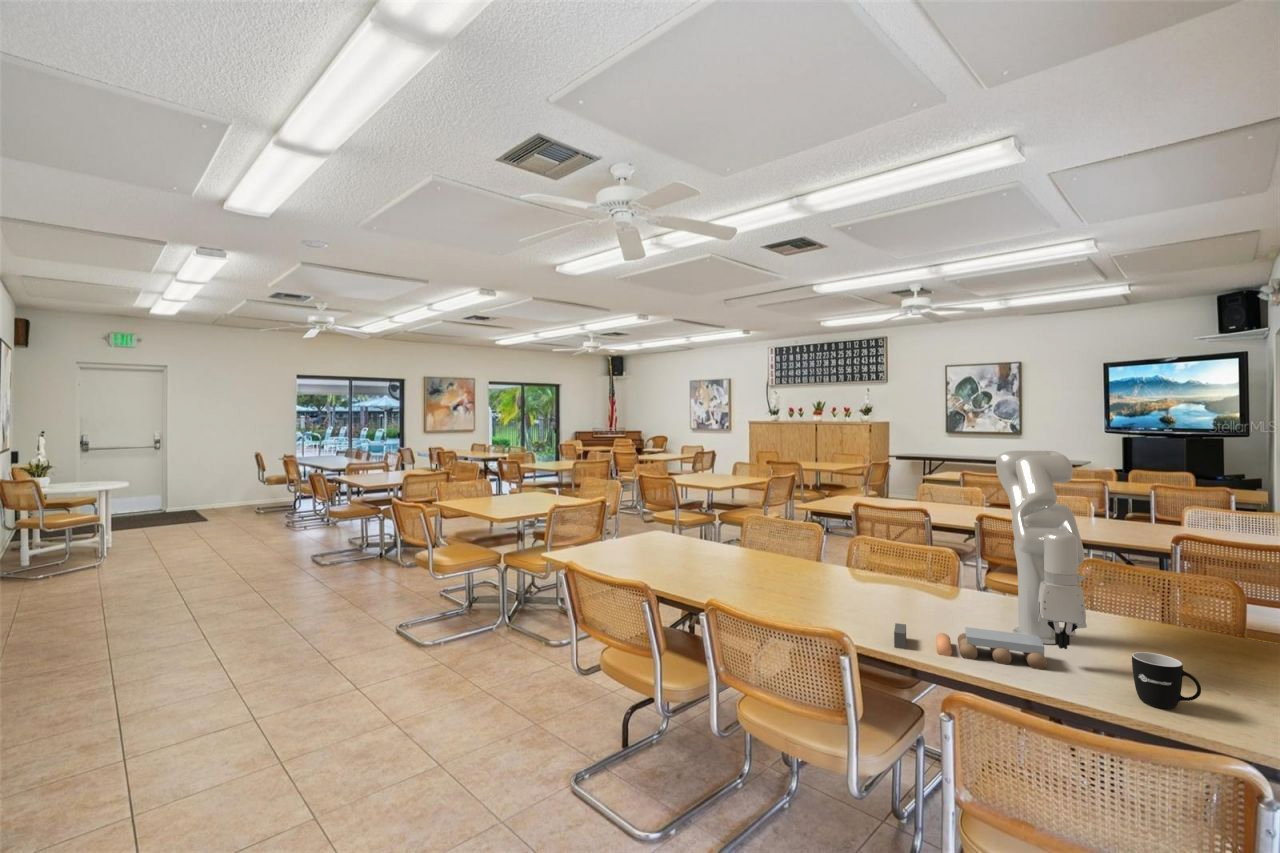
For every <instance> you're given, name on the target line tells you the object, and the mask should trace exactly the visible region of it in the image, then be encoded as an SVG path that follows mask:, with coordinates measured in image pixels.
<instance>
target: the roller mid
mask: <svg viewBox="0 0 1280 853" xmlns="http://www.w3.org/2000/svg"><path fill="white" fill-rule="evenodd" d="M989 649H990V652H991V653H990V654H991V655H992V659H993V660H994V662H995V663H997V664H999V665H1005V666H1006V665H1008V664H1010V663H1011V661H1012V655H1011V652H1010V650H1006V649H1004V648H989Z"/></svg>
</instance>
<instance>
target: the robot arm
mask: <svg viewBox="0 0 1280 853" xmlns="http://www.w3.org/2000/svg"><path fill="white" fill-rule="evenodd" d="M995 469H996V470H995V471H996V474H997V477H998V480H999V482H1000V484H1001V486H1002V487H1003V490H1004V491H1005V492H1006V495H1007V496H1008V500H1009V501H1008V502H1009V507H1010V511H1011V514H1012V517H1011V528H1012V533H1013V538H1014V540H1013V551H1014V555H1015V560H1016V569H1017V593H1018V594H1017V598H1018V599H1017V600H1018V603H1017V604H1018V606H1017V608H1018V612H1017V613H1018V626H1017V627H1014V628H1013V629H1012V633H1018V634H1026V635H1034V636H1039V638H1040V640H1041V641H1042V643H1043V645H1057V646H1058V648H1059V649H1061V650H1062V649H1064V650H1068V646H1070V644H1071V642H1070V639H1071V638H1070V637H1074V638H1075V637H1076V632H1077V631H1076V630H1077V629H1086V628H1087V627H1088V626H1087V622H1086V621H1087V613H1086V604H1085V603H1086V602H1085V596H1084V591H1083V588H1082V585H1081V584H1080V583H1081V582H1086V577H1085V576H1084V575H1083V576H1082V575H1080V574H1079V566H1080V565H1082V564H1083V562H1084V560H1085V550H1084V546H1083V541H1082V539H1081V534H1080V532H1079V531H1080V530H1079V528H1078V524H1077V520H1076V517H1075V514H1074V512H1073V511H1072V509H1071V508H1070V507H1068V506H1067V505H1065V504H1061V503H1057V501H1058V495H1057V492H1056V489H1055V485H1054V483H1057V484H1059V483H1060V484H1062V483H1063V484H1065V483H1068V482H1071V480H1072V479H1073V476H1074V469H1073V464H1072V463H1071V461H1070V459H1069V458H1068V457H1067V456H1066V455H1064V454H1062V453H1060V452H1058V451H1054V450H1009V451H1004V452H1001V453H1000V454H998V456H997V458H996V461H995ZM1060 623H1064V624H1063V626H1061V627H1060Z"/></svg>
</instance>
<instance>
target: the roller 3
mask: <svg viewBox="0 0 1280 853" xmlns="http://www.w3.org/2000/svg"><path fill="white" fill-rule="evenodd" d="M1022 653H1023V655H1024V657H1025V661H1026V662H1027V664H1028V666H1029V667H1031V668H1032V669H1033V670H1039V671H1040V670H1043V669H1045V668H1046V667H1047V665H1048V661H1047V659H1046V657H1045V654H1044V655H1042V654H1040V653H1036V652H1034V653H1027V652H1022Z"/></svg>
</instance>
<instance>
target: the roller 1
mask: <svg viewBox="0 0 1280 853" xmlns="http://www.w3.org/2000/svg"><path fill="white" fill-rule="evenodd" d="M935 642H936V644H935V645H936V653H937V654H938V655H939V656H946V657H951V656H952V653H953V650H952V644H951V643H952V641H951V638H950V636H949V635H948V634H946V633H945V632H939V633H938V634H937V635H936V636H935Z"/></svg>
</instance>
